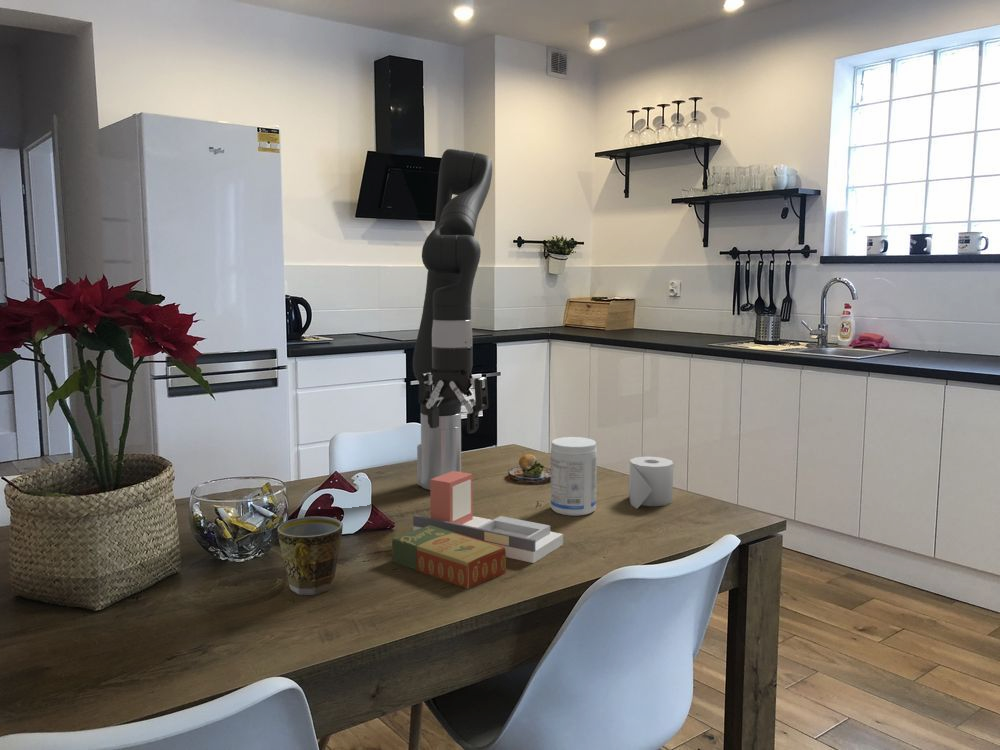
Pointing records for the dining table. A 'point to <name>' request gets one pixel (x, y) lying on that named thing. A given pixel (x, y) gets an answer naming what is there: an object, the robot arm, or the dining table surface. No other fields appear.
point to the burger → (529, 471)
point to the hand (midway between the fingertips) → (452, 430)
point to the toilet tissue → (650, 481)
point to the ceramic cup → (310, 552)
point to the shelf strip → (503, 535)
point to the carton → (449, 556)
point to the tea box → (452, 497)
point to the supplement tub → (573, 475)
